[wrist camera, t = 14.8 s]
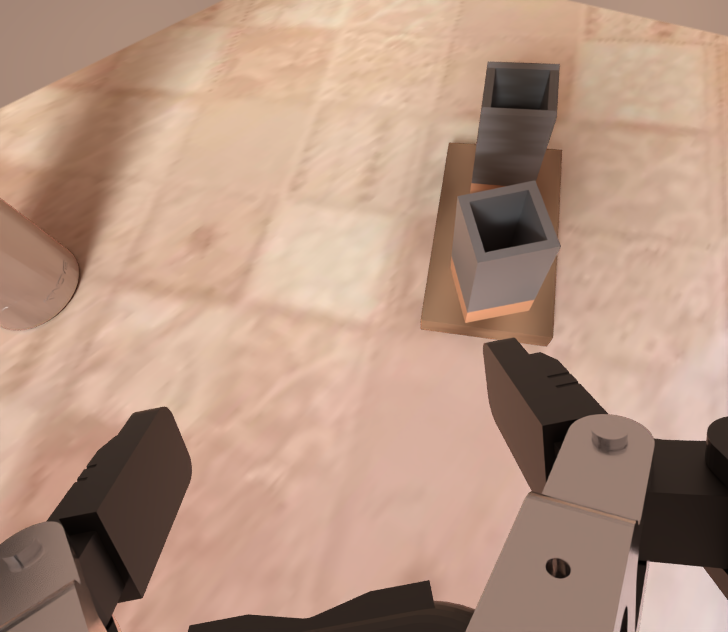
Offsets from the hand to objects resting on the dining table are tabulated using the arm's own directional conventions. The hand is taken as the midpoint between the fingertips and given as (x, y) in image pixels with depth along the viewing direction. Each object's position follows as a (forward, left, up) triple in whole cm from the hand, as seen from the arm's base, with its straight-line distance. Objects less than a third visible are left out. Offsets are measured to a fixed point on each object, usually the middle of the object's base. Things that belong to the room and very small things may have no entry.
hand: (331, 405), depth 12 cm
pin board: (+5, +21, -25) cm, 34 cm away
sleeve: (+5, +16, -23) cm, 29 cm away
